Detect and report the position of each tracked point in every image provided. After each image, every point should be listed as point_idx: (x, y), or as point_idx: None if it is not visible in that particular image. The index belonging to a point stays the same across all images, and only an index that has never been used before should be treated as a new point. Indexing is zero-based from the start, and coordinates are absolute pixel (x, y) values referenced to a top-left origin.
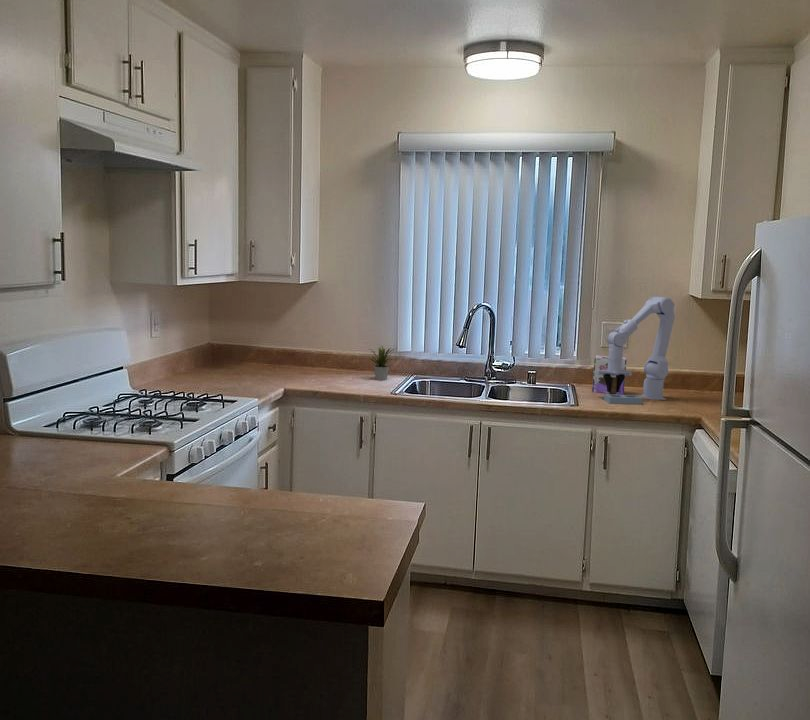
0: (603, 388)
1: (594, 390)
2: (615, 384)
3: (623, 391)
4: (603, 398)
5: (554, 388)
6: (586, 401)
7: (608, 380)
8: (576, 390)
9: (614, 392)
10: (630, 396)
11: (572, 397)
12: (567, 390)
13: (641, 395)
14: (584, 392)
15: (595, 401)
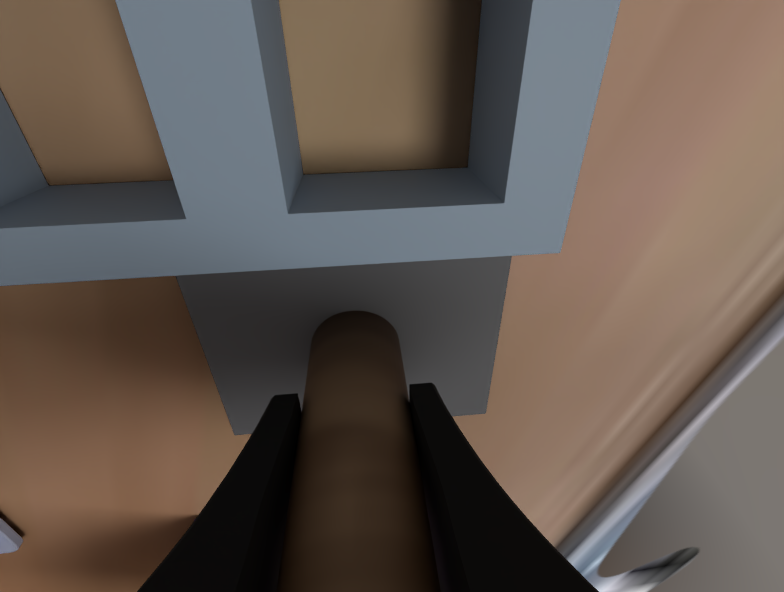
0: None
1: None
2: (331, 512)
3: None
4: (467, 336)
5: (636, 584)
6: (775, 161)
7: (564, 589)
8: None
9: (344, 376)
10: (57, 219)
11: (750, 366)
12: (589, 562)
13: (5, 531)
14: None
15: (642, 183)
